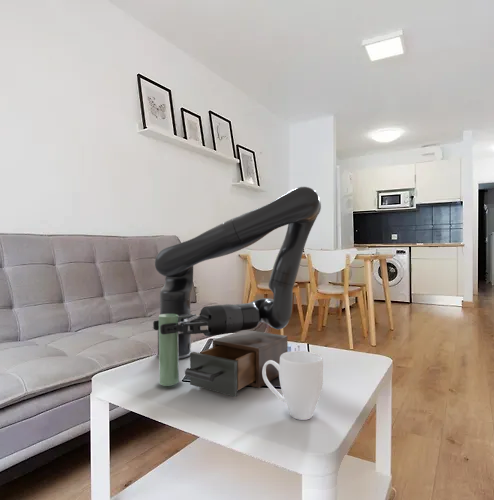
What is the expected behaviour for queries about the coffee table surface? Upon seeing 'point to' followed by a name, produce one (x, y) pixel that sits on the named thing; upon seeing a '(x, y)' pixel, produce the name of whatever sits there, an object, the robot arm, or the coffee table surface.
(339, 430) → the coffee table surface
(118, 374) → the coffee table surface
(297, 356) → the mug
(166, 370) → the green cylinder
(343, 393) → the coffee table surface
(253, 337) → the cabinet
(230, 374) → the drawer
